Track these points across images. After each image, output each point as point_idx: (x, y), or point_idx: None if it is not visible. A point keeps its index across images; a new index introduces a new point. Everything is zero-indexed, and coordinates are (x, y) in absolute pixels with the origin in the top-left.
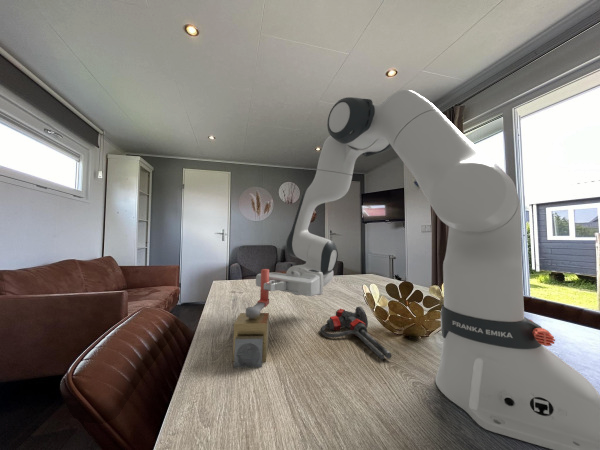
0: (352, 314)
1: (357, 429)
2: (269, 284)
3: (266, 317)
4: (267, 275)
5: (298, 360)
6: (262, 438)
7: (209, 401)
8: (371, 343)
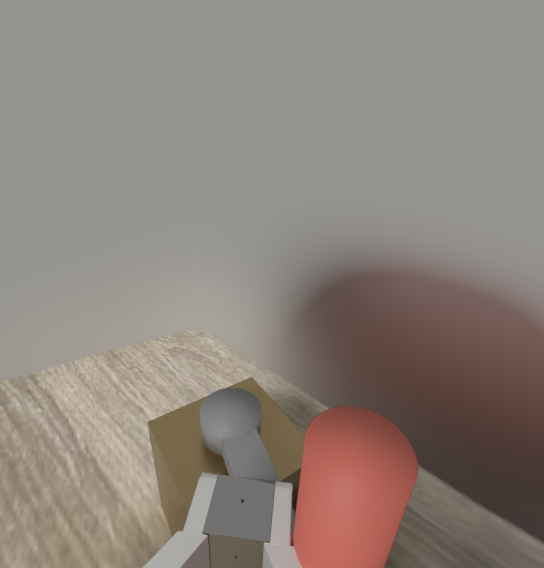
0: None
1: None
2: (226, 476)
3: (179, 471)
4: (300, 482)
5: None
6: (93, 360)
7: (201, 368)
8: None
